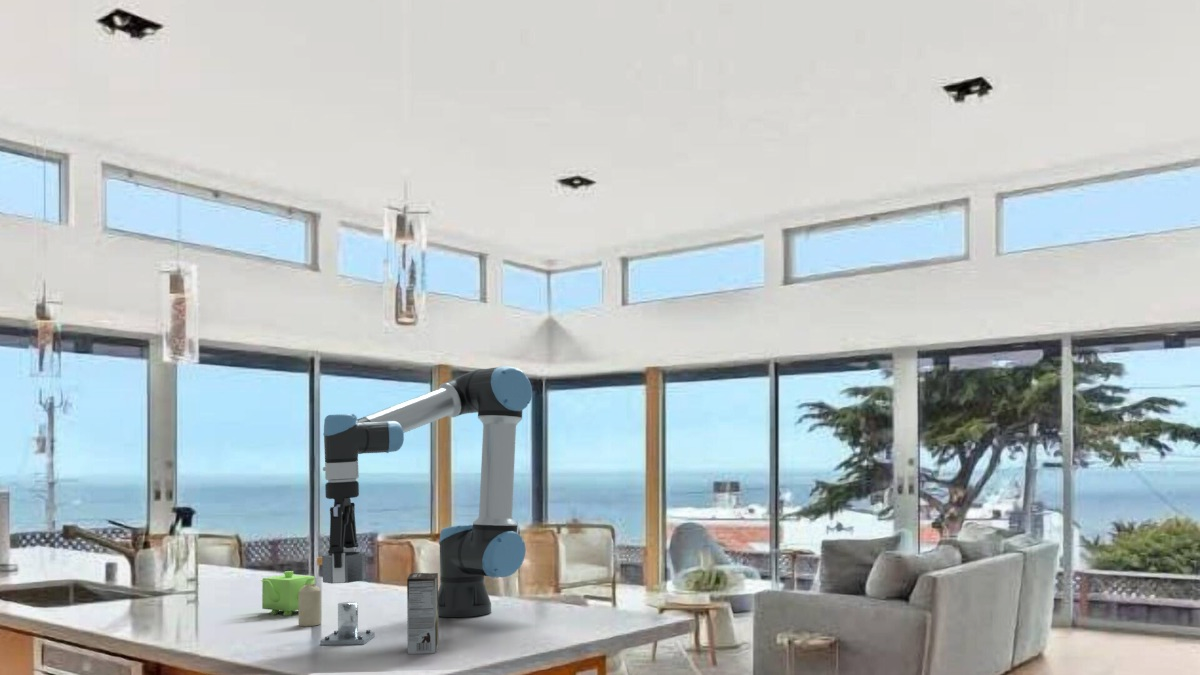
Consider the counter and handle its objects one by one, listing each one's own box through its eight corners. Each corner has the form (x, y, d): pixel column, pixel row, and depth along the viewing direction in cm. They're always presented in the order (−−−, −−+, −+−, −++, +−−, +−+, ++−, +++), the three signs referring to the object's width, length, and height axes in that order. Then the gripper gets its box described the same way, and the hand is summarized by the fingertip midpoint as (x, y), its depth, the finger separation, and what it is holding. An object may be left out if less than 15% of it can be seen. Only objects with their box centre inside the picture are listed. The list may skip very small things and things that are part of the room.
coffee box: (410, 646, 241) (409, 573, 243) (439, 645, 242) (438, 572, 243) (406, 654, 232) (405, 578, 234) (436, 653, 233) (436, 577, 234)
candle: (314, 626, 271) (314, 586, 272) (294, 626, 272) (294, 586, 273) (324, 622, 277) (324, 583, 278) (304, 622, 278) (304, 583, 279)
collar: (368, 576, 253) (367, 550, 254) (359, 582, 244) (359, 555, 245) (323, 578, 253) (322, 552, 254) (313, 584, 244) (312, 557, 245)
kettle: (315, 615, 290) (315, 572, 291) (260, 619, 286) (260, 576, 287) (315, 607, 304) (315, 566, 305) (263, 610, 301) (263, 569, 302)
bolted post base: (374, 636, 255) (374, 599, 256) (364, 644, 245) (364, 606, 246) (332, 637, 255) (332, 600, 256) (320, 645, 245) (320, 607, 246)
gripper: (337, 478, 261) (339, 573, 260) (313, 484, 240) (315, 587, 238) (368, 477, 261) (370, 571, 260) (346, 482, 240) (349, 585, 238)
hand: (344, 579), depth 249 cm, fingers closed on collar, 9 cm apart
